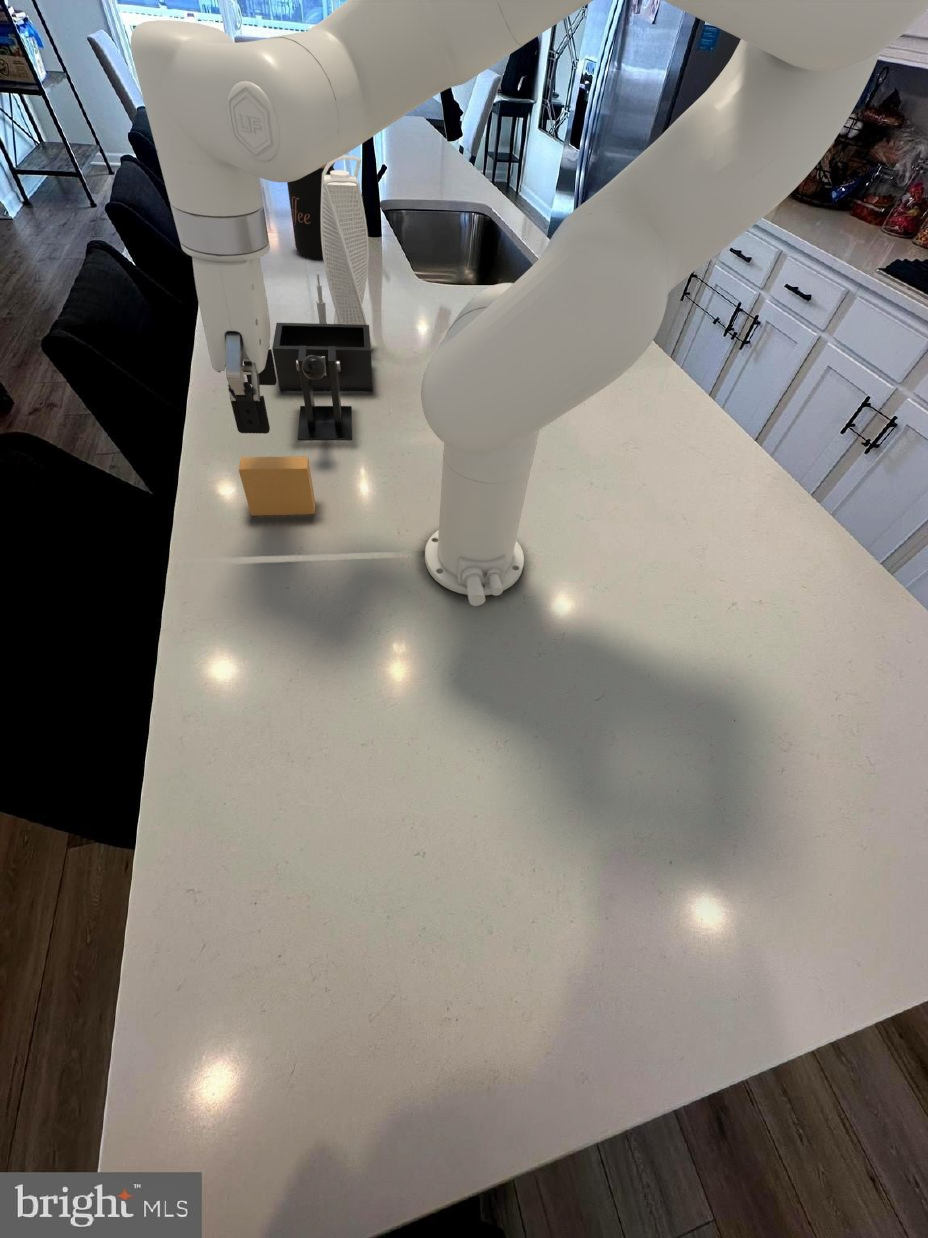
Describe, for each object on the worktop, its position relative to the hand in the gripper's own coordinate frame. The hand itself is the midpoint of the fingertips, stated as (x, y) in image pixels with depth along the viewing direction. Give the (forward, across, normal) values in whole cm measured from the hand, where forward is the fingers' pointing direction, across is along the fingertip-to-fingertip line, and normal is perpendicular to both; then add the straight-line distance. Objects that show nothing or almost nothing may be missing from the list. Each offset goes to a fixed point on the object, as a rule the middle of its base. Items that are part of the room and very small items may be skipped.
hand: (258, 406), depth 62 cm
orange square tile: (+15, 0, +1) cm, 15 cm away
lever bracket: (+15, -20, +6) cm, 26 cm away
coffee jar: (+16, -94, +2) cm, 95 cm away
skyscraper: (+16, -46, +10) cm, 49 cm away
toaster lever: (+5, -15, +5) cm, 17 cm away
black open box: (+15, -34, +6) cm, 37 cm away
